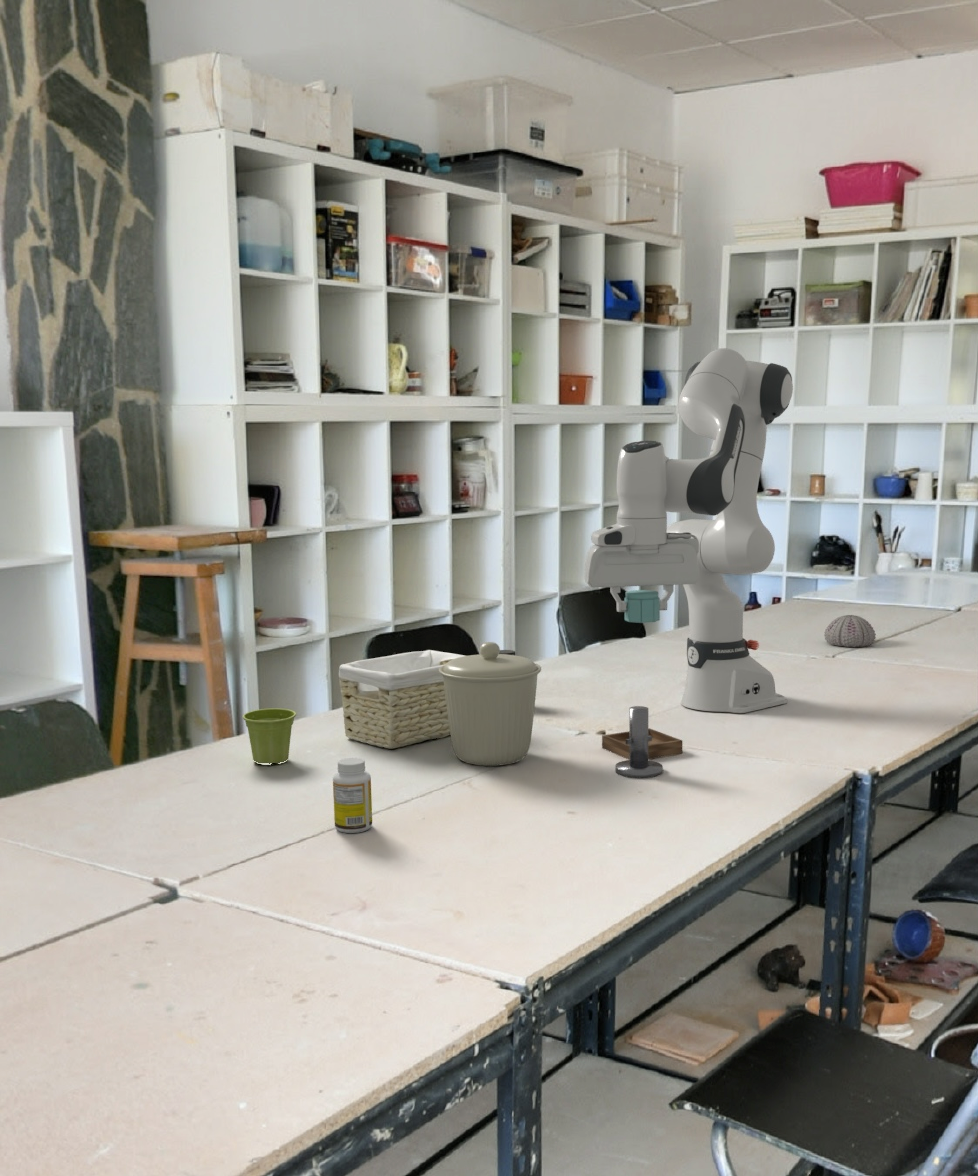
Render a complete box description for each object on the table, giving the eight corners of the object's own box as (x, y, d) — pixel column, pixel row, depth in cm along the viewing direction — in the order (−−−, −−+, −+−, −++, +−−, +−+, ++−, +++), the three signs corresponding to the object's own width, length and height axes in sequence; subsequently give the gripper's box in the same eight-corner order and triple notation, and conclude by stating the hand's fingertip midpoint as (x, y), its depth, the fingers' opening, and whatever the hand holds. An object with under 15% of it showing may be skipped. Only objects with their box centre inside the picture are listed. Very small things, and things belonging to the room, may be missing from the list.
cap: (663, 618, 215) (663, 591, 214) (650, 623, 210) (649, 595, 210) (634, 616, 218) (634, 589, 218) (620, 621, 213) (619, 593, 213)
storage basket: (428, 717, 246) (427, 646, 244) (484, 730, 235) (483, 656, 233) (336, 739, 229) (333, 664, 228) (391, 754, 218) (389, 675, 216)
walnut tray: (649, 740, 224) (649, 728, 224) (682, 753, 215) (682, 740, 215) (602, 748, 220) (602, 735, 219) (633, 761, 210) (633, 748, 210)
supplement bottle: (354, 819, 181) (352, 753, 180) (380, 827, 177) (378, 759, 176) (326, 829, 177) (324, 761, 175) (352, 837, 173) (350, 768, 172)
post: (645, 762, 209) (645, 701, 208) (672, 773, 202) (672, 710, 201) (606, 769, 206) (606, 706, 204) (632, 780, 199) (632, 715, 197)
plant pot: (307, 756, 217) (305, 710, 216) (281, 770, 208) (279, 722, 207) (261, 753, 220) (259, 707, 219) (234, 766, 211) (232, 718, 210)
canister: (474, 778, 201) (472, 655, 199) (422, 755, 217) (419, 640, 214) (562, 761, 211) (561, 643, 208) (506, 740, 226) (504, 630, 223)
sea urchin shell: (867, 650, 312) (868, 620, 311) (816, 646, 320) (817, 617, 319) (881, 643, 324) (882, 613, 322) (831, 639, 331) (832, 610, 330)
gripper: (693, 530, 217) (693, 606, 218) (582, 533, 214) (583, 610, 216) (704, 533, 210) (703, 611, 212) (589, 536, 208) (590, 615, 210)
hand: (641, 610), depth 214 cm, fingers closed on cap, 6 cm apart
